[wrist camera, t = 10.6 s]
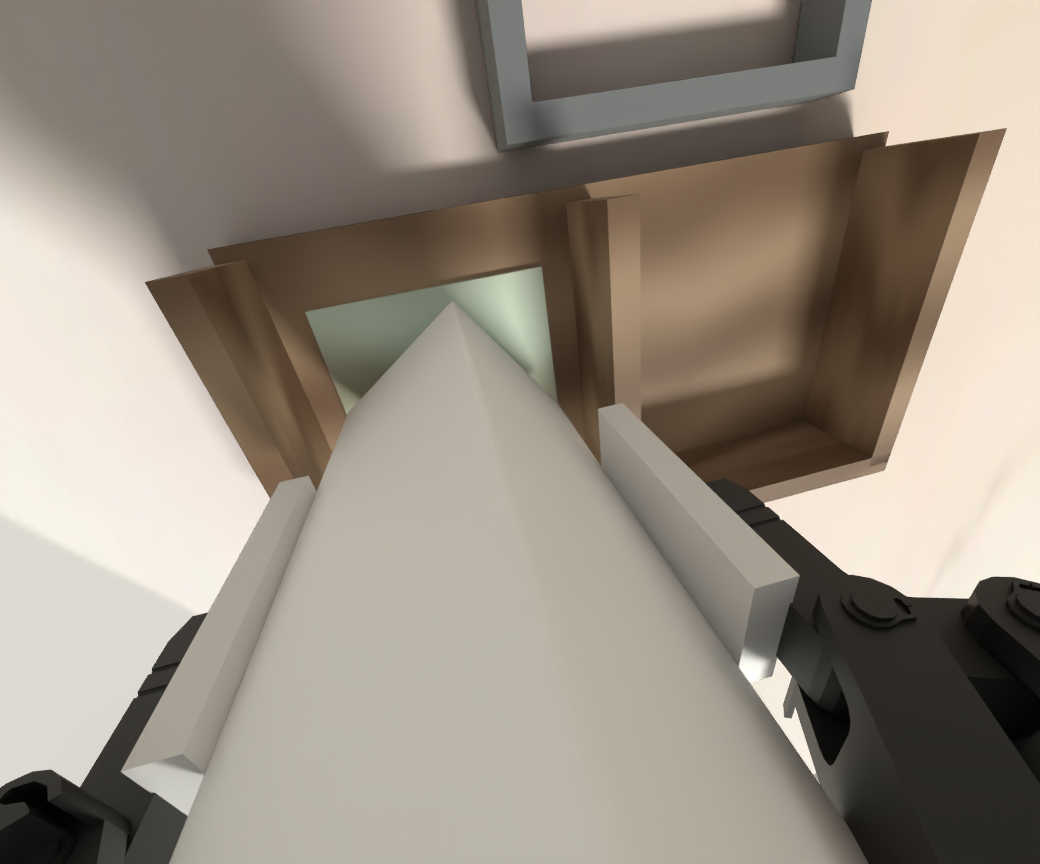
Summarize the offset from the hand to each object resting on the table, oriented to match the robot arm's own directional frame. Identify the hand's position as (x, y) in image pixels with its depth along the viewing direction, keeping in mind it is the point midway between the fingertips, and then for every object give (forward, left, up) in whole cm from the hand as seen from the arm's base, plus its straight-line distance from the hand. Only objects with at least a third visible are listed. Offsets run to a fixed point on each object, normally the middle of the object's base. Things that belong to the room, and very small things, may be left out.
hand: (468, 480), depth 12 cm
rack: (0, +6, -8) cm, 10 cm away
